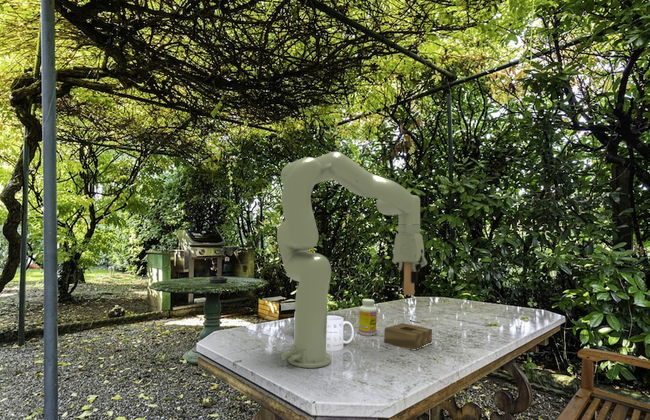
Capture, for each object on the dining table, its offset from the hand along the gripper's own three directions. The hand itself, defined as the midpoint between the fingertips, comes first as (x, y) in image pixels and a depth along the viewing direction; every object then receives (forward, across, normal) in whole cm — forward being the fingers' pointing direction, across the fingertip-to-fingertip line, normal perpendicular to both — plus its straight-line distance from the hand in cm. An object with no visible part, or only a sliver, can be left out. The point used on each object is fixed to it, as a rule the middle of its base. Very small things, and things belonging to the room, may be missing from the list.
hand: (409, 281), depth 128 cm
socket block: (+22, -1, +2) cm, 22 cm away
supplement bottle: (+22, -18, 0) cm, 29 cm away
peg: (+4, 0, 0) cm, 4 cm away
